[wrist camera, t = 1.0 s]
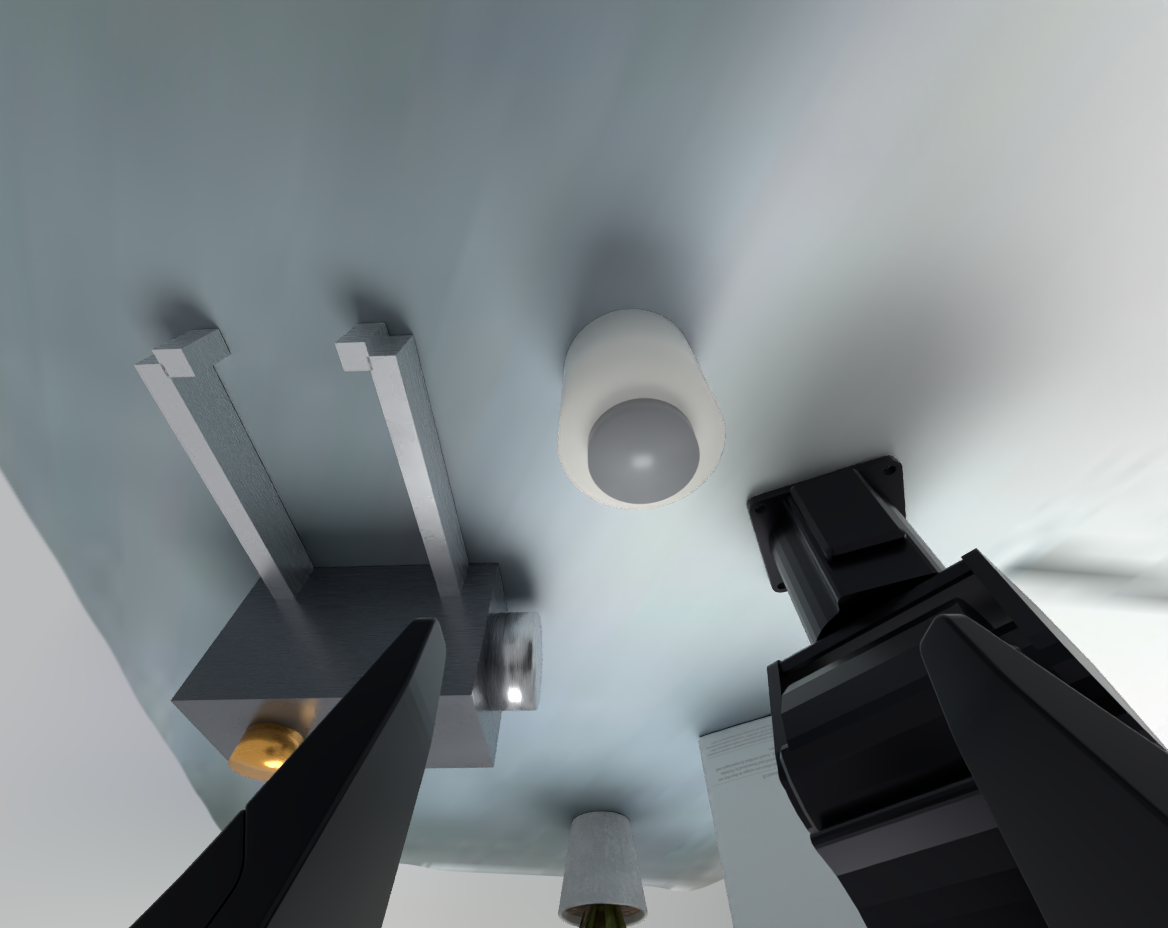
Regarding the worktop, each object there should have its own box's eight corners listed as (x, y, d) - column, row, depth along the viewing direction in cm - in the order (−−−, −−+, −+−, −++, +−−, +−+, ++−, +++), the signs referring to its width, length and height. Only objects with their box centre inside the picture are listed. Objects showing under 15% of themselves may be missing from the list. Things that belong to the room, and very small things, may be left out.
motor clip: (505, 318, 18) (455, 435, 11) (547, 635, 28) (534, 795, 21) (127, 332, 18) (-150, 453, 11) (308, 640, 28) (222, 800, 22)
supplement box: (694, 736, 35) (741, 997, 24) (795, 705, 32) (895, 979, 22) (735, 775, 38) (792, 1018, 28) (829, 750, 36) (930, 1005, 25)
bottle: (707, 403, 20) (749, 496, 15) (593, 444, 21) (596, 543, 16) (670, 286, 17) (705, 351, 12) (542, 340, 18) (525, 421, 13)
